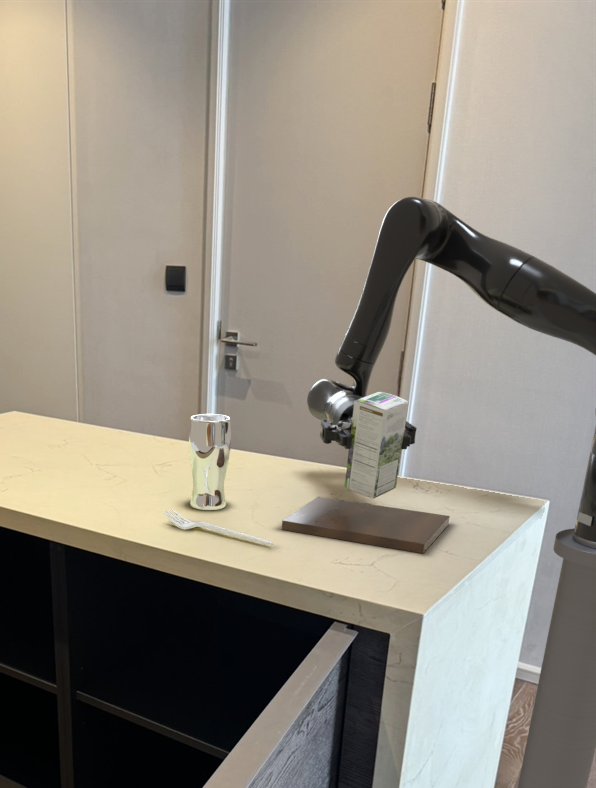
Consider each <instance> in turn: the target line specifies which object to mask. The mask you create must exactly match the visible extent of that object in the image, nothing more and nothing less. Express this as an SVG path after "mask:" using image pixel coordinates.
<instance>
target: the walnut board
mask: <svg viewBox="0 0 596 788" xmlns="http://www.w3.org/2000/svg"><path fill="white" fill-rule="evenodd" d="M450 518H451V516H450V515H445V514H440V513H433V512H432V513H431V512H426V511H419V510H414V509H413V510H411V509H405V508H399V507H391V506H385V505H377V504H371V503H365V502H358V501H351V500H344V499H337V498H330V497H325V496H317V497H315V498H314V499H312V500H311V501H310V502H308V503H307V504H305V505H303V506H301V507H300V508H298V510H296V511H294V512H293V513H292V514H290V515H288V516H287V517H286V518H284V519H282V521H281V530H282V531H289V532H294V533H300V534H305V535H311V536H318V537H323V538H329V539H335V540H341V541H348V542H351V543H359V544H366V545H370V546H377V547H382V548H388V549H393V550H400V551H407V552H411V553H417V554H424V553H425V552H426V551H427V550H428V548H429V547H430V546H431V545H432V544H433V543H434V542H435V541H436V539H438V537H439V536H440V535H441V534H442V533H443V532H444V531H445V529H446V528H447V527H448V526H449V525H450V524H449V523H450Z"/></svg>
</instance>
